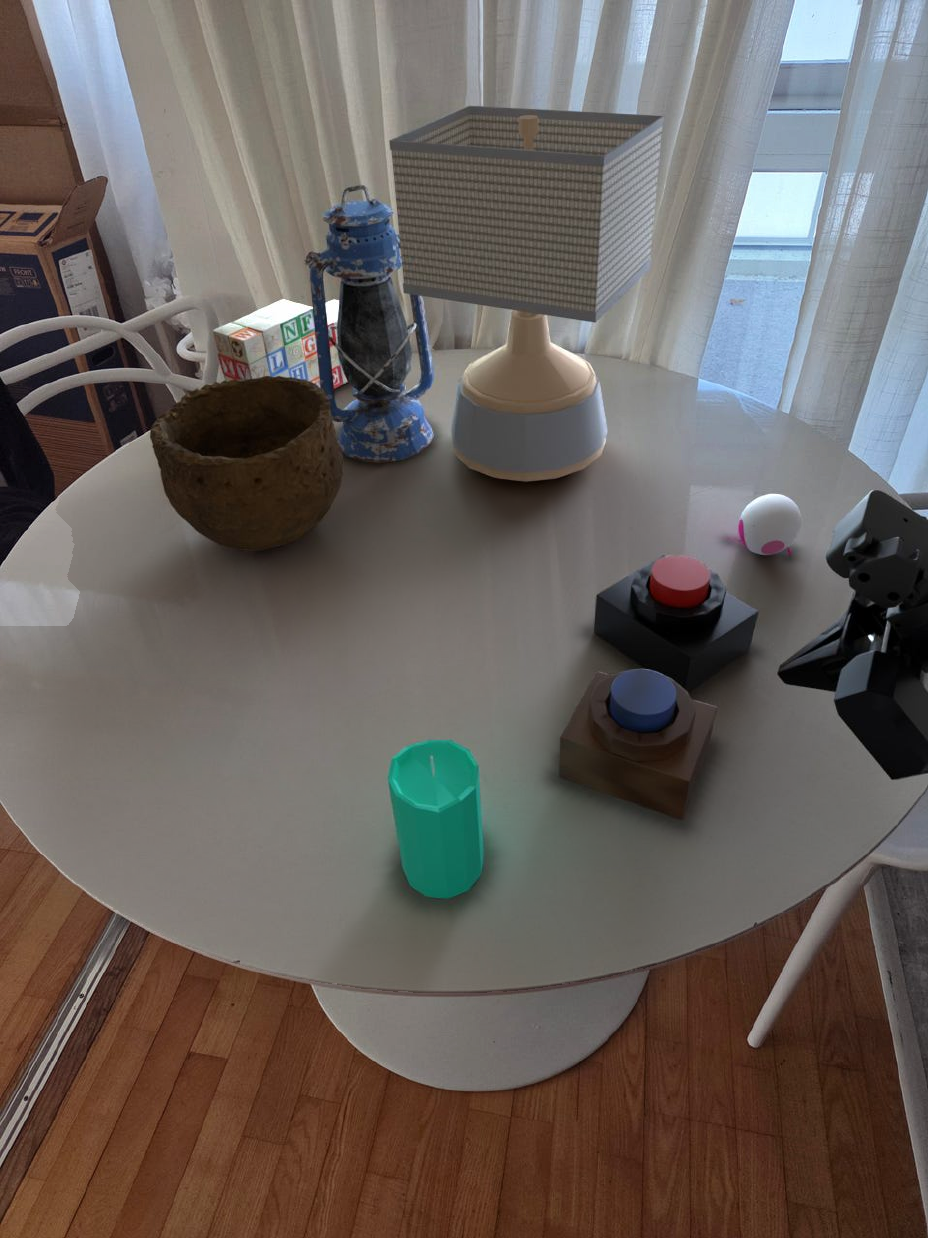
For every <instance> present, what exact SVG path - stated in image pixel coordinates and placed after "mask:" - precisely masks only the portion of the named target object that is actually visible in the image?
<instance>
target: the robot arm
mask: <svg viewBox="0 0 928 1238" xmlns="http://www.w3.org/2000/svg"><path fill="white" fill-rule="evenodd" d="M832 533H833V534H832V535H833V536H832V538H831V543H830V546H829V547H828V549H827V550H826V554H825V560H826V563H827V565H828V567H829V568H830V569H831V571H832V572H834V573H835V574H836V575H838V576H839V577H841V578H843V579H848V586H849V587H850V588H851V590H853V591H852V595H851V598H850V601H849V605H848V607H847V610H846V611H845V613H844V614H843V615H842V616H841V617H839V618H838V619H837V620H836V621H835V622H834V623H832V624H831V625H830V626H828V627H827V628H826V629H825V630H824V631H822V632H821V633H820V634H819V635H817V636H816V637H815V638H813V639H812V640H810V641H809V642H808V643H807V644H805V645H804V646H803V647H802V648H800V649H799V650H797V651H796V652H795V653H794V654H792V655H791V656H790V657H789V658H787V659H786V660H784V661H783V662H782V663H781V664H780V665H779V667H778V670H777V673H776V674H777V676H778V678H779V679H780V680H781V682H782V683H783V684H785V685H787V686H792V687H793V686H795V687H800V688H806V689H812V690H819V691H825V692H832V693H835V694H834V697H833V704H834V705H835V706H834V707H835V710H836V713H837V716H838V717H839V718H840V719H841V720H842V722H843V723H844V724H845V725H846V727H847V728H848V729H849V730H850V731H851V732H852V734H853V735H854V736H855V738H856V739H857V740H858V741H859V742H860V743H861V745H862V746H863V747H864V748H865V750H866V751H867V752H868V753H869V754H870V755H871V757H872V758H873V759H874V760H875V761H876V763H877V764H878V766H880V768H881V769H882V771H884V773H885V774H886V775H887V776H888V777H889V779H890V780H891V781H899V780H904V779H908V778H912V777H917V776H922V775H927V774H928V518H927V517H926V516H924V515H920V514H919V513H918V512H916V511H914V510H913V509H911V508H910V507H908V506H907V505H905V504H904V503H902V502H900V501H899V500H897V499H896V498H894V497H893V496H892V495H890V494H888V493H886V492H885V491H882V490H878V489H872V490H871V491H869V493H868V494H867V495H865V496H864V497H863V498H862V500H860V502H858V504H856V505H855V506H854V507H853V509H851V510H850V511H849V512H848V513H847V514H846V515H845V516H843V518H842V519H841V520H839V522H838V523H837V524H836V525H835V526H834V528H833V530H832Z"/></svg>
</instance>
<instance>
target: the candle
mask: <svg viewBox="0 0 928 1238" xmlns="http://www.w3.org/2000/svg"><path fill="white" fill-rule="evenodd" d="M387 783H388V790H389V795H390V801H391V802H390V803H391V807H392V813H393V819H394V825H395V832H396V837H397V842H398V849H399V853H400V854H399V856H400V860H401V861H400V862H401V867H402V871H403V872H404V875H405V877H406V879H407V882H408V885H409V886H410V887H411V888H413V889H415V890H416V891H417V892H419V893H420V894H421V895H422V896H425V897H427V898H435V899H436V898H437V899H447V900H449V899H452V898H454V897H456V896H459V895H461V894H464V893H466V892H468V891H470V890H471V889H472V888H473V886H474V885H475V883H476V882H477V881H478V880H479V878H480V877H481V876H482V874H483V873H482V872H483V865H484V857H485V856H484V854H485V853H484V839H483V837H484V836H483V821H482V820H483V819H482V804H481V803H482V800H481V786H480V785H481V782H480V767H479V763H478V762H477V760H476V759H475V757H474V755H473V753H472V751H471V750H470V749H469V748H468V747H465V746H463V744H462V745H461V744H460V743H458V742H456V741H455V740H452V739H426V740H423V741H419V742H415V743H412V744H409V745H408V744H407V745H406V746H404V748H402V749H400V750H399V751H398V752H397V753H396V754H394V755H393V756H392V757H391V759H390V765H389V769H388V773H387Z"/></svg>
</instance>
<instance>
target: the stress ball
mask: <svg viewBox="0 0 928 1238" xmlns="http://www.w3.org/2000/svg"><path fill="white" fill-rule="evenodd" d="M801 526H802V515H801V512H800V509H799V507H798V505H797V503H796V502H795V501H793V499H791V498H790V497H788V496H787V495H783V494H780V493H779V494H778V493H768V494H765V493H763V495H761V496H759V497H757V498H755V499H754V500H752V501H751V502H750V503H749V504H748V505H746V507H745V508H744V510H743V511H742V513H741V515H740V517H739V520H738V526H737V527H738V529H737V530H738V537H739V539H738V538H732V537H731V538H730V537H727V539H729V540H733V541H738V542H741V543H742V545H743V546H744V547H745V548H746V549H747V550H749V551H750V552H752V553H754V554H757V555H762V556H771V555H775V554H778V553H781V552H783V551H784V550H787V553H788V555H789V556H791V554H792V549H791V548H789V547H790V546H791V545H792V544H793V543H794V542H795V540H796V539H797V537H798V535H799V533H800V530H801Z"/></svg>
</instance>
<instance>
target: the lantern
mask: <svg viewBox="0 0 928 1238" xmlns="http://www.w3.org/2000/svg"><path fill="white" fill-rule="evenodd" d="M357 191H363V192H364V196H365V198H366V200H362V199H361V200H352V201H347V198H348V197H347V196H348V194H349V193H352V192H357ZM394 214H395V212H394V209H393V207H391V206H389V205H388V204H386V203H385V204H384V203H382V202H380V201H379V200H378V199H376V198H371V194H370V190H369V189H368V187H366V186H365V184H357V185H353V186H348V187H346V188H345V189H344V190H343V192H342V194H341V203H339V204H337V205H333V207H332V208H331V209H328V210H326V211H325V212H324V213H323V214H322V221H323V222H325V223H327V224H328V232H327V233H326V234H325V240H326V249H325V250H323V251H322V252H316V251H313V250H311V251H309V252H308V253H307V255H306V257H305V259H304V261H303V264H304V265H305V266H308V268H309V281H310V283H309V284H310V291H311V292H310V293H311V304H312V307H313V315H314V325H315V335H316V346H317V356H318V367H319V377H320V387H321V389H322V390H323V391H324V392H325V394H326V396H327V398H328V401H329V402H330V403H331V404H330V411H331V416H332V420H333V422H336V423H342V427H341V430H340V433H339V435H338V438H337V440H338V443H339V446H340V448H341V451H342V453H343V454H344V455H346V457H349V458H352V459H355V460H357V461H360V462H367V463H380V464H381V463H389V462H397V461H401V460H405V459H408V458H410V457H413V456H416V455H418V454H420V453H421V452H423V451H424V450H426V449H427V448H428V447H429V446H430V445H431V444H432V441H433V439H434V437H435V435H434V432H433V427H432V426H431V425H430V423H429V421H428V420H427V419H426V416H425V415H426V414H425V410H424V406H423V402H421V401H420V400H419V398H421V397H423V396H424V395H426V394H427V392H428V391H429V390H430V389H431V388H432V385H433V383H434V380H435V375H434V371H435V370H434V365H433V358H432V357H433V356H432V351H431V344H430V336H429V330H428V324H427V323H428V322H427V318H426V316H427V315H426V311H425V303H424V296H419V295H413V294H409V298H410V305H411V311H412V312H411V313H412V319H413V322H411V323H410V324H409V325H407V321H406V318H405V315H404V312H403V309H402V306H401V303H400V301H399V296H398V294H397V292H396V291H397V290H396V289H395V285H394V282H393V279H392V277H391V274H392V273H394V272H397V271H398V270H400V269H401V268H402V258H401V252H400V250H401V247H400V236H399V233H396V229H395V227H394V226H392V225H391V222H390V221H391V220H390V218H391V217H392V216H393V215H394ZM324 272H326V273H327V274H329V275H330V276H331V277H335V278H340V280H341V281H340V287H339V298H338V301H339V308H338V319H337V326H334V325H333V326H329V327H328V322H327V312H326V303H327V302H326V291H325V282H324ZM330 329H337V338H338V345H337V344H336V343H335V341H334V340H333V338H332V336H331V334H330V331H329V330H330ZM410 329H411V330H410ZM409 330H410V331H409ZM414 332H415V340H416V347H417V352H418V361H419V366H420V379H419V381H418V382H417V384H415V385H414V386H413V387H412V388H410V389H408V390H407V385H406V382H405V380H406V378H407V376H408V375H409V374H410V372H411V367H412V357H413V356H412V355H413V352H412V345H411V341H410V339H411V337H412V335H413V334H414ZM329 339H330V341H331V342H332V344H333V345H334V346H335V347H336V349H337V350H338V357H339V360H340V363H341V366H342V369H343V372H344V375H345V377H346V379H347V381H348V382H347V383H349V384H350V385H351V387H353V388H352V397H354V398H355V399H354V400H352V401H351V402H349V403H348V404H346V405H345V407H344V408H340V407H338V405H337V403H336V395H335V389H334V384H333V374H332V363H331V353H330V343H329Z"/></svg>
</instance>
